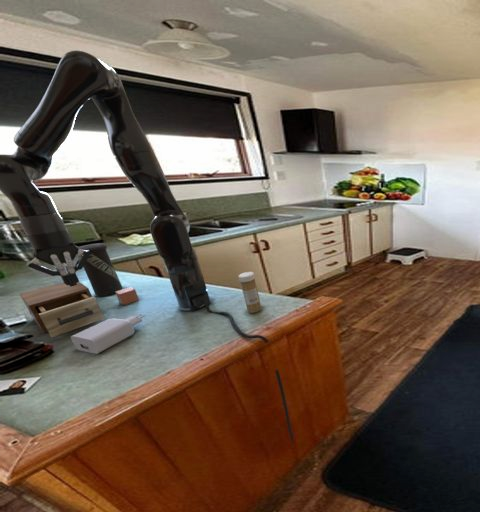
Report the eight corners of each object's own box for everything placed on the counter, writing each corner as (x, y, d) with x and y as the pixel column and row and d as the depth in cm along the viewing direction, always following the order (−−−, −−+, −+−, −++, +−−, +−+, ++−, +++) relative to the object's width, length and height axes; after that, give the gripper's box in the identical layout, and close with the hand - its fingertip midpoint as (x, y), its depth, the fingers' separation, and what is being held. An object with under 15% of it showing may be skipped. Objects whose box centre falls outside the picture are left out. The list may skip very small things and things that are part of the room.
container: (105, 297, 105) (84, 249, 98) (88, 296, 107) (66, 248, 100) (129, 287, 113) (111, 242, 106) (112, 286, 115) (93, 241, 108)
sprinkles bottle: (262, 305, 95) (254, 270, 90) (261, 312, 91) (253, 275, 86) (247, 308, 93) (239, 272, 89) (246, 314, 89) (237, 277, 85)
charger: (155, 323, 87) (98, 354, 73) (135, 320, 89) (76, 349, 76) (151, 310, 85) (91, 340, 71) (130, 307, 87) (68, 335, 74)
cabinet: (100, 313, 94) (88, 288, 91) (44, 333, 84) (28, 305, 80) (86, 302, 102) (75, 279, 98) (33, 319, 92) (19, 293, 88)
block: (139, 299, 102) (135, 289, 101) (123, 305, 99) (119, 294, 97) (134, 297, 105) (130, 286, 103) (119, 302, 101) (114, 291, 99)
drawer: (109, 322, 87) (99, 300, 84) (55, 342, 77) (42, 319, 75) (91, 307, 96) (81, 287, 93) (41, 324, 87) (29, 302, 84)
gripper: (11, 237, 69) (43, 297, 75) (83, 225, 80) (106, 279, 86) (5, 234, 73) (37, 291, 79) (75, 223, 83) (98, 274, 89)
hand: (73, 285), depth 82 cm, fingers closed
